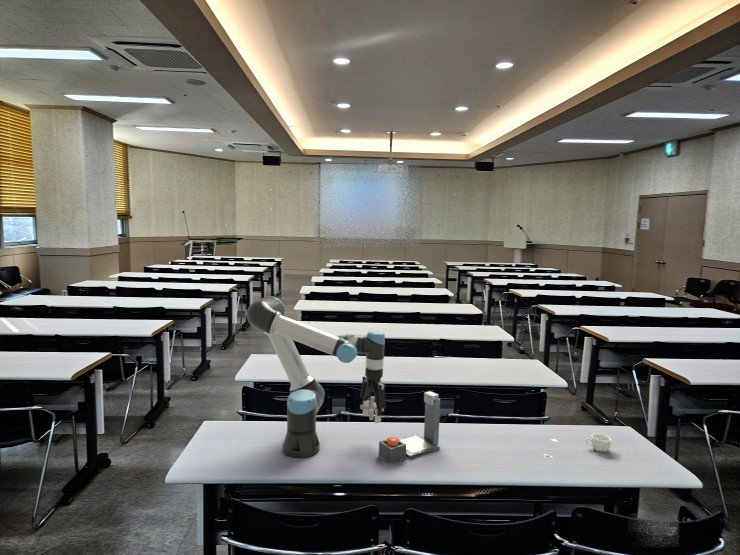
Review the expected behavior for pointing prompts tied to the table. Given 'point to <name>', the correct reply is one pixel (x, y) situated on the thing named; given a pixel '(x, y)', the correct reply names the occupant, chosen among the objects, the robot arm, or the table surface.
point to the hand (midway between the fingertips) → (371, 418)
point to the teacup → (600, 442)
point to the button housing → (392, 452)
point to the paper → (547, 454)
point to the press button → (392, 441)
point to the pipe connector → (370, 407)
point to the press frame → (426, 430)
